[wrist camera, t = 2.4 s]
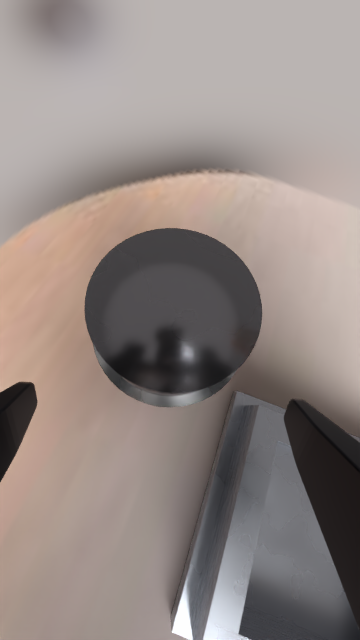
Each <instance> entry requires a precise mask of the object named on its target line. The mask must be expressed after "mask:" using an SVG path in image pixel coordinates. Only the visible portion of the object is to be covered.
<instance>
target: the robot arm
mask: <svg viewBox="0 0 360 640" xmlns="http://www.w3.org/2000/svg"><path fill="white" fill-rule="evenodd" d="M36 407H37V396H36V391H35V386H34V384H33V383H31V382H18V383H16V384H15V385H13V386H11V387H9V388H7V389H6V390H4V391H2V392H0V482H1V480H2V478H3V477H4V475H5V473H6V471H7V469H8V468H9V466H10V464H11V462H12V460H13V458H14V457H15V455H16V453H17V451H18V449H19V446H20V444H21V442H22V440H23V437H24V435H25V433H26V430H27V428H28V426H29V423H30V421H31V419H32V416H33V414H34V412H35V409H36ZM284 424H285V427H286V431H287V434H288V438H289V442H290V445H291V449H292V453H293V456H294V460H295V463H296V466H297V469H298V472H299V474H300V477H301V479H302V482H303V485H304V487H305V490H306V492H307V495H308V498H309V500H310V503H311V506H312V508H313V511H314V513H315V516H316V519H317V521H318V524H319V526H320V529H321V532H322V534H323V537H324V539H325V542H326V545H327V547H328V550H329V553H330V555H331V558H332V560H333V563H334V566H335V568H336V571H337V573H338V576H339V579H340V581H341V584H342V586H343V589H344V592H345V594H346V597H347V600H348V602H349V605H350V607H351V610H352V613H353V615H354V618H355V620H356V623H357V626H358V628H359V631H360V442H359V441H357V440H356V439H355V438H353V437H352V436H351V435H349V434H348V433H347V432H345V431H344V430H343V429H341V428H340V427H339V426H337V425H336V424H335V423H333V422H332V421H331V420H329V419H328V418H327V417H325V416H324V415H323V414H321V413H320V412H319V411H317V410H316V409H315V408H313V407H312V406H311V405H309V404H308V403H307V402H305V401H304V400H301V399H291V400H290V401H289V404H288V406H287V409H286V411H285V414H284Z"/></svg>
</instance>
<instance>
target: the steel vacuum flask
mask: <svg viewBox="0 0 360 640" xmlns="http://www.w3.org/2000/svg"><path fill="white" fill-rule="evenodd" d="M85 320H86V324H87V329H88V332H89V335H90V337H91V340H92V342H93V346H94V350H95V354H96V357H97V359H98V362H99V364H100V366H101V367H102V369H103V371H104V373H105V374H106V375H107V376H108V378H109V379H110V380H111V381H112V382H113V383H114V384H115V385H116V386H117V387H118V388H119V389H120V390H122V391H123V392H124V393H126V394H127V395H129V396H131V397H132V398H134V399H136V400H138V401H141V402H144V403H147V404H150V405H153V406H158V407H181V406H186V405H191V404H194V403H197V402H200V401H203V400H204V399H206V398H208V397H210V396H212V395H213V394H215V393H216V392H218V391H219V390H220V389H221V388H223V387H224V386H225V385H226V384H227V383H228V382H229V380H230V379H231V378H232V377H233V375H234V374H235V372H236V371H237V369H238V368H239V367H240V366H241V365H242V364H243V363H244V361H245V360H246V359H247V358H248V356H249V355H250V353H251V351H252V349H253V348H254V346H255V343H256V341H257V338H258V336H259V332H260V327H261V320H262V304H261V299H260V294H259V291H258V287H257V284H256V282H255V280H254V278H253V276H252V274H251V272H250V271H249V269H248V268H247V266H246V265H245V264H244V262H243V261H242V260H241V259H240V258H239V257H238V256H237V255H236V254H235V253H234V252H233V251H232V250H231V249H229V248H228V247H227V246H225V245H224V244H222V243H221V242H219V241H217V240H216V239H214V238H212V237H209V236H207V235H205V234H202V233H199V232H195V231H191V230H186V229H177V228H165V229H155V230H151V231H146V232H143V233H140V234H137V235H135V236H133V237H130V238H128V239H126V240H125V241H123V242H122V243H120V244H118V245H117V246H116V247H115V248H113V249H112V250H111V251H110V252H109V253H108V254H107V255H106V256H105V257H104V258H103V259H102V260H101V262H100V263H99V265H98V266H97V267H96V269H95V271H94V273H93V275H92V277H91V279H90V282H89V284H88V287H87V292H86V297H85Z"/></svg>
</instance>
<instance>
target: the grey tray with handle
mask: <svg viewBox="0 0 360 640" xmlns="http://www.w3.org/2000/svg"><path fill="white" fill-rule="evenodd" d="M285 411H286V409H284V408H281V407H278V406H276V405H273V404H271V403H268V402H265V401H263V400H260V399H258V398H255V397H252V396H250V395H247V394H245V393H242V392H239V391H234V392H233V395H232V399H231V402H230V406H229V409H228V413H227V416H226V420H225V424H224V427H223V431H222V434H221V438H220V442H219V445H218V449H217V452H216V456H215V460H214V463H213V467H212V470H211V474H210V478H209V481H208V485H207V488H206V492H205V496H204V499H203V503H202V506H201V510H200V514H199V517H198V521H197V524H196V528H195V531H194V535H193V539H192V542H191V546H190V549H189V553H188V557H187V560H186V564H185V567H184V571H183V575H182V578H181V582H180V585H179V589H178V593H177V596H176V600H175V603H174V607H173V611H172V614H171V628H172V632H173V633H175V634H178V635H180V636H182V637H185V638H187V639H189V640H360V631H359V628H358V626H357V623H356V620H355V618H354V615H353V613H352V610H351V607H350V605H349V602H348V600H347V597H346V594H345V592H344V589H343V586H342V584H341V581H340V579H339V576H338V573H337V571H336V568H335V566H334V563H333V560H332V558H331V555H330V553H329V550H328V547H327V545H326V542H325V539H324V537H323V534H322V532H321V529H320V526H319V524H318V521H317V519H316V516H315V513H314V511H313V508H312V506H311V503H310V500H309V498H308V495H307V492H306V490H305V487H304V485H303V482H302V479H301V477H300V474H299V472H298V469H297V466H296V463H295V460H294V456H293V453H292V449H291V445H290V442H289V438H288V434H287V431H286V427H285V424H284V414H285ZM348 434H349V433H348ZM349 435H351V434H349ZM351 436H352V437H353V438H355V439H356V440H357V441H359V442H360V438H359V437H356V436H354V435H351Z"/></svg>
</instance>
